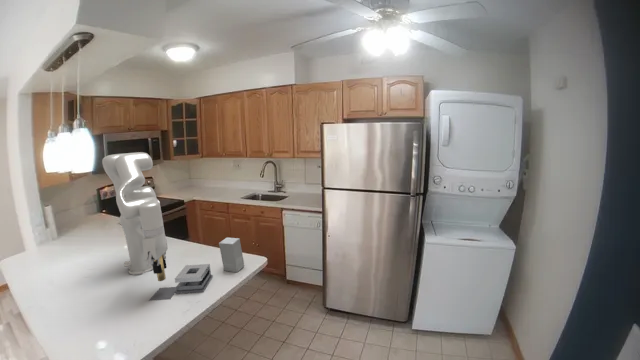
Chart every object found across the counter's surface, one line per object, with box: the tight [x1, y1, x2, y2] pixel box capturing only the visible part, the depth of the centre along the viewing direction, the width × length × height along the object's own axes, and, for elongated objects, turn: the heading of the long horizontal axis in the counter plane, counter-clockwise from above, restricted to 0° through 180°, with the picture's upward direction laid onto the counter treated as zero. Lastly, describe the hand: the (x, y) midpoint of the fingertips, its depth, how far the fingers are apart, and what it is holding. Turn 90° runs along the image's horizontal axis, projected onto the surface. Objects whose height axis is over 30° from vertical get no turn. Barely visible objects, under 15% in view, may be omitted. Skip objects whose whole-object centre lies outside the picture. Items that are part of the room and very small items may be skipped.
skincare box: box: [218, 236, 245, 273], centre depth 135 cm, size 8×7×16 cm
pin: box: [154, 256, 167, 282], centre depth 115 cm, size 3×3×12 cm
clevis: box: [174, 263, 214, 295], centre depth 122 cm, size 12×12×8 cm
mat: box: [148, 286, 177, 302], centre depth 118 cm, size 9×9×1 cm
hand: (160, 270), depth 116 cm, fingers closed on pin, 3 cm apart
